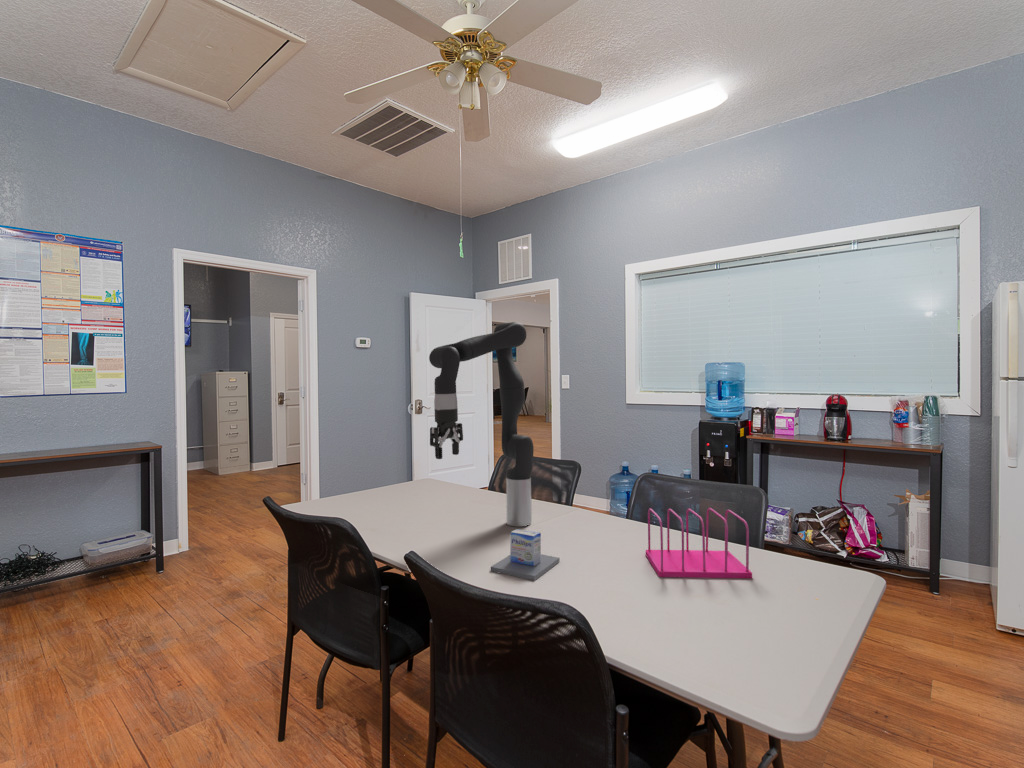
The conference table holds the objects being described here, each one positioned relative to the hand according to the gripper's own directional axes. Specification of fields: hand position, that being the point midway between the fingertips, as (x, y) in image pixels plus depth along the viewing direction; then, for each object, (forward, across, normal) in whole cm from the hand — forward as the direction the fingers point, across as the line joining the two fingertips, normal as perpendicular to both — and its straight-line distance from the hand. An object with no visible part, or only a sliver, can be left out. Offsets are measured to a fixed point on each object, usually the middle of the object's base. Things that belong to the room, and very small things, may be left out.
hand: (447, 456), depth 165 cm
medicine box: (+28, +5, +32) cm, 43 cm away
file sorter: (+30, -20, +74) cm, 82 cm away
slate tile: (+29, +5, +32) cm, 43 cm away
